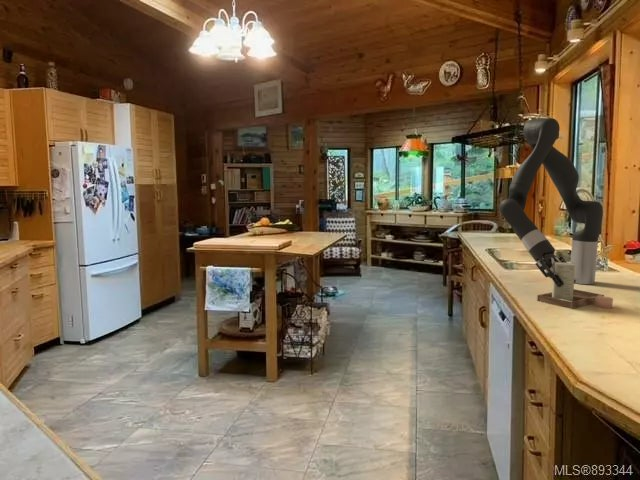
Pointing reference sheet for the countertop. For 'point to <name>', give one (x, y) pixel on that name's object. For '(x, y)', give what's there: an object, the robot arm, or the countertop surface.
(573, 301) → the walnut organizer
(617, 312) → the countertop surface
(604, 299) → the pinkish brown rounded piece
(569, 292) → the skincare box
